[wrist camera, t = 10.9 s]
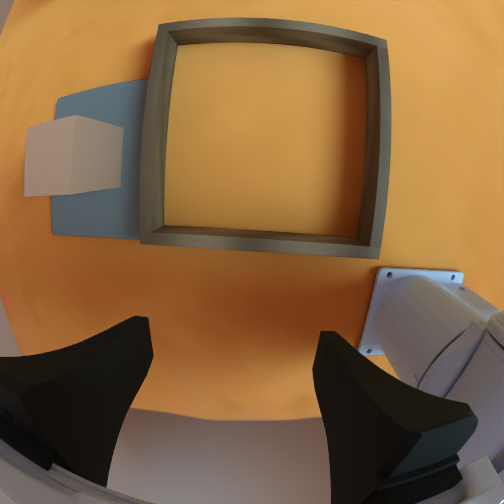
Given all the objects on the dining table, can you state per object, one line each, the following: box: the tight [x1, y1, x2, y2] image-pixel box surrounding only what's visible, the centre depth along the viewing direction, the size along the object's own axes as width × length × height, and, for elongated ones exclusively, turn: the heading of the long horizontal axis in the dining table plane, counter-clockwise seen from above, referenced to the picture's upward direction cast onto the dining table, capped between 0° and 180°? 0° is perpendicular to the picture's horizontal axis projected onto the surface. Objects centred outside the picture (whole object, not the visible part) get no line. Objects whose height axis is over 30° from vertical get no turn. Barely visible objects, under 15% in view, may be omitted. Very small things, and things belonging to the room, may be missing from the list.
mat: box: [51, 78, 149, 240], centre depth 17 cm, size 10×12×1 cm
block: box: [24, 115, 124, 197], centre depth 14 cm, size 4×4×6 cm
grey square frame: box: [140, 18, 391, 259], centre depth 16 cm, size 16×16×2 cm
